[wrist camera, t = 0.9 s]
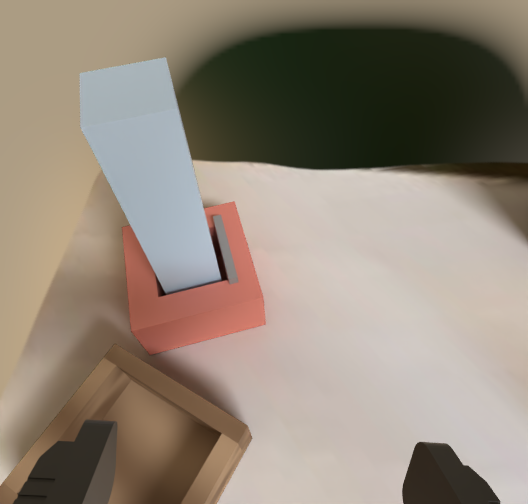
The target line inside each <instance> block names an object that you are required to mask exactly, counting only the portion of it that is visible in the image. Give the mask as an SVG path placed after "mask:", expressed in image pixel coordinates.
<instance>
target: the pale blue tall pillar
mask: <svg viewBox="0 0 528 504" xmlns="http://www.w3.org/2000/svg"><path fill="white" fill-rule="evenodd" d="M80 128H81V129H82V132H83V133H84V135H85V137H86V139H87V141H88V143H89V145H90V147H91V149H92V151H93V153H94V155H95V157H96V159H97V161H98V163H99V165H100V166H101V169H102V171H103V172H104V174H105V176H106V178H107V180H108V182H109V184H110V186H111V188H112V190H113V192H114V194H115V196H116V198H117V200H118V202H119V204H120V206H121V208H122V210H123V212H124V213H125V215H126V217H127V219H128V221H129V223H130V225H131V227H132V229H133V231H134V233H135V235H136V237H137V239H138V241H139V243H140V245H141V247H142V249H143V251H144V252H145V254H146V256H147V258H148V260H149V262H150V264H151V266H152V268H153V270H154V272H155V274H156V276H157V278H158V280H159V282H160V284H161V286H162V288H163V290H164V291H165V293H166V295H169V294H173V293H177V292H181V291H185V290H189V289H193V288H197V287H201V286H205V285H209V284H213V283H217V282H221V281H222V279H221V274H220V270H219V266H218V262H217V258H216V254H215V250H214V246H213V242H212V238H211V234H210V230H209V226H208V222H207V218H206V214H205V210H204V207H203V203H202V199H201V195H200V191H199V187H198V183H197V179H196V175H195V171H194V167H193V163H192V159H191V156H190V151H189V147H188V144H187V140H186V135H185V131H184V128H183V124H182V120H181V116H180V112H179V108H178V104H177V100H176V96H175V92H174V88H173V84H172V80H171V76H170V72H169V68H168V64H167V60H166V58H160V59H154V60H149V61H144V62H138V63H133V64H128V65H122V66H117V67H111V68H106V69H100V70H95V71H90V72H84V73H80Z"/></svg>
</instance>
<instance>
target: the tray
mask: <svg viewBox="0 0 528 504" xmlns="http://www.w3.org/2000/svg"><path fill="white" fill-rule="evenodd" d="M87 419H89V420H104V421H116V422H117V447H116V468H115V477H114V482H113V487H112V491H111V495H110V498H109V502H108V504H217V502H218V500H219V498H220V496H221V495H222V493H223V491H224V489H225V487H226V485H227V484H228V482H229V480H230V478H231V476H232V474H233V473H234V471H235V469H236V467H237V465H238V463H239V462H240V460H241V458H242V456H243V454H244V452H245V451H246V449H247V447H248V445H249V443H250V441H251V439H252V436H251V433H250V431H249V428H248V426H247V425H246V424H244V423H242V422H241V421H239V420H238V419H236V418H234V417H233V416H231V415H230V414H228V413H226V412H225V411H223V410H221V409H220V408H218V407H217V406H215V405H213V404H212V403H210V402H209V401H207V400H205V399H204V398H202V397H200V396H199V395H197V394H196V393H194V392H192V391H191V390H189V389H188V388H186V387H184V386H183V385H181V384H180V383H178V382H176V381H175V380H173V379H171V378H170V377H168V376H167V375H165V374H163V373H162V372H160V371H159V370H157V369H155V368H154V367H152V366H150V365H149V364H147V363H146V362H144V361H142V360H141V359H139V358H138V357H136V356H134V355H133V354H131V353H129V352H128V351H126V350H125V349H123V348H121V347H120V346H118V345H117V344H114V345H113V346H112V348H111V349H110V350H109V351H108V353H107V354H106V355H105V356H104V358H103V359H102V360H101V361H100V363H99V364H98V365H97V366H96V368H95V369H94V370H93V371H92V373H91V374H90V375H89V376H88V378H87V379H86V380H85V381H84V383H83V384H82V385H81V386H80V387H79V389H78V390H77V391H76V392H75V394H74V395H73V396H72V397H71V399H70V400H69V401H68V402H67V404H66V405H65V406H64V407H63V409H62V410H61V411H60V412H59V414H58V415H57V416H56V417H55V419H54V420H53V421H52V422H51V423H50V425H49V426H48V427H47V428H46V430H45V431H44V432H43V433H42V435H41V436H40V437H39V438H38V440H37V441H36V442H35V443H34V445H33V446H32V447H31V448H30V450H29V451H28V452H27V453H26V455H25V456H24V457H23V458H22V460H21V461H20V462H19V463H18V464H17V466H16V467H15V468H14V469H13V471H12V472H11V473H10V474H9V476H8V477H7V478H6V479H5V481H4V482H3V483H2V484H1V486H0V504H13V502H14V500H15V499H17V497H18V493H19V492H20V490H21V488H22V487H23V485H24V483H25V481H26V482H27V479H28V476H29V474H30V473H31V471H32V469H33V467H34V466H35V464H36V462H37V460H38V459H39V457H40V456H41V455H42V454H44V453H45V452H46V451H47V450H48V449H49V448H50V447H52V446H53V445H54V444H55V443H56V442H57V441H72V442H74V441H75V439H76V437H77V435H78V433H79V431H80V429H81V427H82V425H83V423H84V421H85V420H87Z"/></svg>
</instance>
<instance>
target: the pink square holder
mask: <svg viewBox="0 0 528 504" xmlns="http://www.w3.org/2000/svg"><path fill="white" fill-rule="evenodd" d="M204 210H205V214H206V218H207V222H208V226H209V230H210V234H211V238H212V242H213V246H214V250H215V254H216V258H217V262H218V266H219V270H220V274H221V279H222V281H221V282H217V283H213V284H209V285H205V286H201V287H197V288H193V289H189V290H185V291H181V292H177V293H173V294H169V295H166V293H165V291H164V290H163V288H162V286H161V284H160V282H159V280H158V278H157V276H156V274H155V272H154V270H153V268H152V266H151V264H150V262H149V260H148V258H147V256H146V254H145V252H144V251H143V249H142V247H141V245H140V243H139V241H138V239H137V237H136V235H135V233H134V231H133V229H132V227H131V225H129V226H125V227H122V232H123V244H124V255H125V267H126V279H127V290H128V302H129V313H130V325H131V332H132V333H133V334H134V336H135V337H136V338H137V340H138V341H139V342H140V343H141V345H142V346H143V347H144V348H145V350H146V351H147V352H148V353H149V355H152V354H156V353H160V352H163V351H167V350H171V349H175V348H179V347H182V346H186V345H190V344H194V343H197V342H201V341H205V340H209V339H212V338H216V337H220V336H224V335H227V334H231V333H235V332H239V331H243V330H246V329H250V328H254V327H258V326H261V325H265V324H266V322H265V311H264V300H263V295H262V292H261V288H260V285H259V282H258V278H257V275H256V272H255V268H254V265H253V262H252V258H251V255H250V252H249V248H248V245H247V242H246V238H245V235H244V232H243V228H242V225H241V222H240V218H239V215H238V212H237V208H236V205H235V202H230V203H225V204H221V205H217V206H212V207H208V208H204Z"/></svg>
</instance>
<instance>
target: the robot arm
mask: <svg viewBox="0 0 528 504" xmlns="http://www.w3.org/2000/svg"><path fill="white" fill-rule="evenodd" d="M116 447H117V422H116V421H104V420H89V419H87V420H85V421H84V423H83V425H82V427H81V429H80V431H79V433H78V435H77V437H76V439H75V441H74V442H72V441H57V442H56V443H55V444H54V445H53V446H52V447H50V448H49V449H48V450H47V451H46V452H45V453H44V454H42V455H41V456H40V457H39V459H38V460H37V462H36V464H35V466H34V467H33V469H32V471H31V473H30V474H29V476H28V479H27V482H26V481H25V483H24V485H23V487H22V488H21V490H20V492H19V493H18V497H17V499H15V500H14V502H13V504H108V502H109V498H110V495H111V491H112V487H113V482H114V477H115V468H116ZM402 496H403V503H404V504H500V500H499V499H498V497H497V496H496V495H495V493H494V492H493V490H492V489H491V488H490V486H489V485H488V483H487V482H486V481H485V480H484V479H483V478H481V477H480V476H479V475H478V474H477V473H476V472H475V471H474V470H472V469H471V468H470V467H469V466H465V465H463V464H462V463H461V461H460V460H459V458H458V457H457V455H456V454H455V452H454V451H453V449H452V448H451V447H450V446H449V445H448V444H445V443H429V442H419V443H417V444H416V446H415V448H414V451H413V455H412V458H411V461H410V464H409V467H408V471H407V474H406V477H405V480H404V483H403V490H402Z"/></svg>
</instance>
